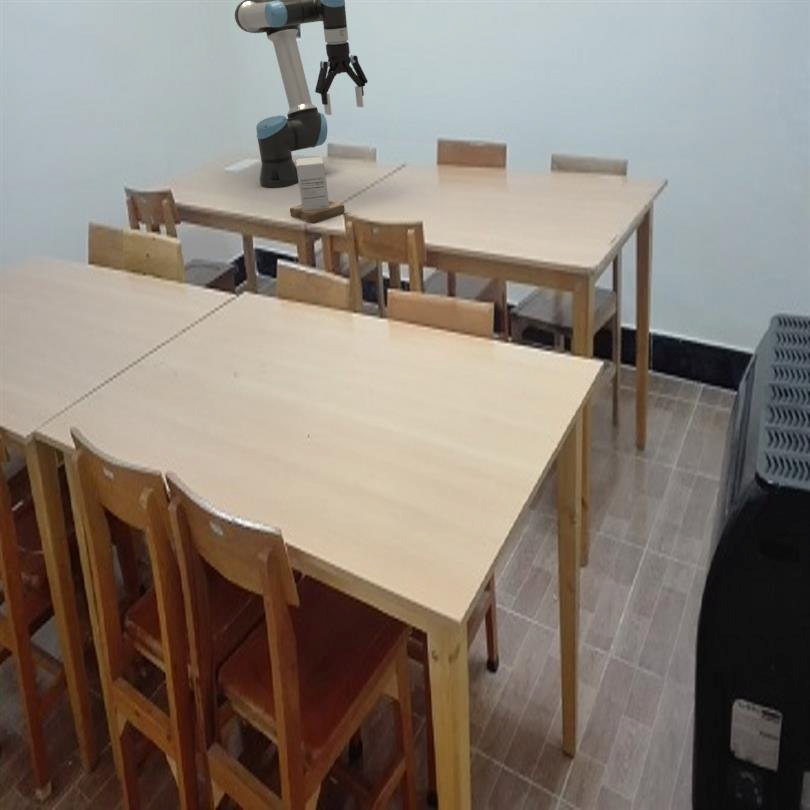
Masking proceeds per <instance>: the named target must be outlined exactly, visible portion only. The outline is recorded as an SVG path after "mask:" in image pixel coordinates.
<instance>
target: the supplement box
mask: <svg viewBox="0 0 810 810" xmlns="http://www.w3.org/2000/svg"><path fill="white" fill-rule="evenodd" d="M295 163H296V164H295V166H296V168H297V174H298V182H297V183H298V189H299V193H300V200H301V204H302V207H303V211H308V210H317V209H326V208H329V201H330V200H329V192H328V186H327V185H328V184H327V178H326V170H325V163H324V158H323V156H316V157H315V156H314V157H313V156H312V157H305V158H304V157H303V158H297V159H295Z"/></svg>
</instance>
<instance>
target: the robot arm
mask: <svg viewBox="0 0 810 810" xmlns="http://www.w3.org/2000/svg"><path fill="white" fill-rule="evenodd" d="M346 11H347V10H346V1H345V0H243V1H241V2H239V4H238V5H237V6H236V9H235V11H234V20H235V22H236V25H237V26H238V28H239V29H241V30H242V31H244V32H247V33H250V34H263V33H266V36H267V39H268V41H270V42H272V44H273V47H274V48H273V49H274V53H275V56H276V60H277V64H278V67H279V71H280V74H281V75H280V76H281V79H282V84H283V87H284V91H285V95H286V100H287V104H288V108H289V109H288V112H287V114H286V115H287V116H285V115H275V116H274V115H273V116H271V117H267V118H264V119H262V120H261V121H259V122H258V123H257V124H256V126H255V127H256V138H257V143H258V148H259V155H260V161H261V168H260V176H259V183H260V186H261V187H265V188H282V187H283V188H284V187H289V186H292V184H293V185H294V184H297V183H299V182H298V174H297V166H296V164H295V162H294V161H293V155H292V152H294V151H295V152H296V151H299V150H306V149H310V148H316V147H318V146H322V145H324V144H325V142H326V141H327V138H328V137H327V136H328V122H327V119H326V117H325V115H328V116H332V115H333V113H332V107H331V96H330V94H329V93H328V92H329V89H330V88H331V86H332V83H333V81H334V79H335V77H336V76H337V75H340V74H342V73H344V74H345V73H346V74H347V76H349V78H350V79H351V80H352V81H353V83H354V84H355V85H356V86H354V91H355V92H354V93H355V103H356V107H357V108H364V98H363V97H364V95H365V93H364V87H365V86H366V84H368V79H367V77H366V74H365V72H364V71H363V68H362V67H361V64H360V62H359V59H358V58H359V57H358V55H355V54H351V53H350V43H349V42H348V41H349V33H348V23H347V12H346ZM316 22H322V23H323V34H324V42H325V43H326V44H325V50H326V55H327V58H328V59H327V61H325V60H321V61H320V62H319V66H320V67H319V69H320V70H319V73H318V77H317V82H316V86H315V90H314V92H315V93H316V94H319V95H320V97H321V103H322V105H323V107H324V108H323V109H324V113H322V112H320V111H319V110H318V107H317V106H316V105H314V104H313V103H312V99H311V95H310V89H309V86H308V83H307V82H308V81H307V77H306V74H305V71H304V66H303V62H302V59H301V54H300V49H299V46H298V42H297V38H296V37H297V35H298V34H299V28H300V26H301V25H303V24H309V23H310V24H311V23H316ZM350 54H351V55H350ZM350 64H351V65H350ZM351 66H352V67H351ZM324 114H325V115H324Z"/></svg>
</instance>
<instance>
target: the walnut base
mask: <svg viewBox="0 0 810 810" xmlns="http://www.w3.org/2000/svg"><path fill="white" fill-rule="evenodd" d="M344 212H345V213H346V211H345V205H344V204H341V203H338V202H334V201H332V200H329V208H326V209H317V210H308V211H303V207H302V203H301V204H299V205H298V204H297V205H294V206H292V207H291V208H289V213H290V217H291V216H292V217H291V218H294V219H298V218H299V219H298V220H301V219H302V220H301V221H304V220H305V221H304V222H307V221H308V223H311V224H316V223H319V222H323V221H325V220H329V219H331V218H334V217H337V216H340V215H344V214H345V213H344ZM343 213H344V214H343Z"/></svg>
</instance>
